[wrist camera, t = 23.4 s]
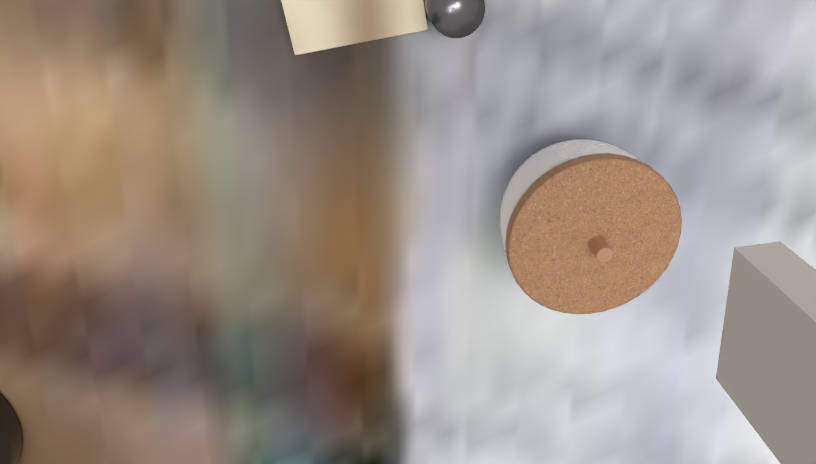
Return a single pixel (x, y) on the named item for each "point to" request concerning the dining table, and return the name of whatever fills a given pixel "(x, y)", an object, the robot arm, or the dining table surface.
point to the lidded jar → (587, 226)
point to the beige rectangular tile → (349, 21)
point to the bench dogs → (455, 16)
